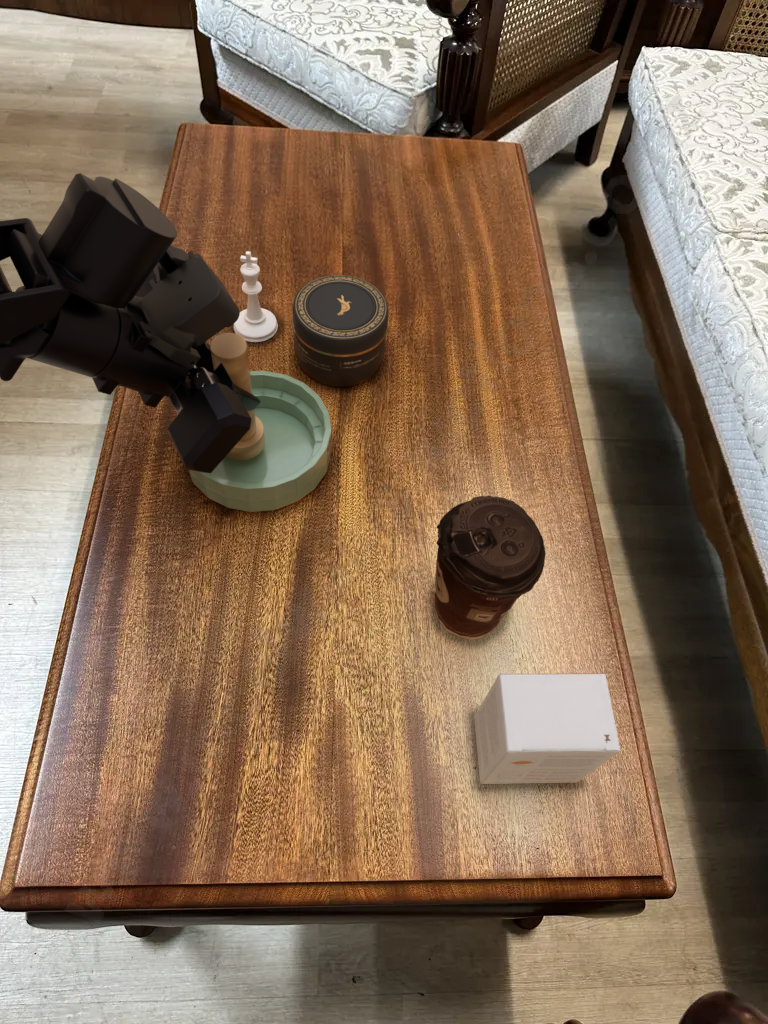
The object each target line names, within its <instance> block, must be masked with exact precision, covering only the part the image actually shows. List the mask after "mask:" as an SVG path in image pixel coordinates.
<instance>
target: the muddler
mask: <svg viewBox="0 0 768 1024" xmlns="http://www.w3.org/2000/svg"><path fill="white" fill-rule="evenodd" d="M209 345H210V350H211V356H212V362H213V367H214V371H215V369H216V368H217V367H218V366H219V364H220V363H222V364H223V365H224V367H225V369H226V371H227V372H228V374H229V376H230V378H231V379H232V381H233V383H234V385H236V386H238V387H240V388H242V389H243V390H245V391H247V392H249V393H251V394H252V385H251V376H250V371H251V370H250V369H251V368H250V361H249V360H250V359H249V351H248V342H247V341H246V340H245V339H244V338H243V337H242V336H240V335H238V334H236V333H235V332H223V333H220V334H218V335H215V336H214V337H213V338H212V340H211V341H210V343H209ZM252 395H253V394H252ZM248 413H249V415H250V417H251V426H250V430H249V431H248V432H247V433H246V434H245V435H244V436H243V438H242V439H241V440H240V441H239V442H238V443H237V444H236V445H235V447H234V448H233V449H232V450H231V451H230V452H229V453H228V455H227V457H229V458H232V459H235V460H248V459H251V458H253V457H255V456H257V455H258V454H259V453H260V452H261V451H262V450H263V448H264V445H265V436H264V427H263V424H262V422H261V420H260V419H259V418H258V417H256V416H255V412H254V410H251V411H248Z"/></svg>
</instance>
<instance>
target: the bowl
mask: <svg viewBox="0 0 768 1024" xmlns="http://www.w3.org/2000/svg"><path fill="white" fill-rule="evenodd" d="M250 376H251V385H252V394H253V395H254V396H256V397H257V398H259V400H260V404H259V405H258V406H257V407H256V408H255V409H254V412H255V416H256V417H258V418H259V419H260V420H261V422H262V424H263V427H264V436H265V445H264V448H263V450H262V451H261V452H260V453H259V454H258V455H257V456H255V457H253V458H251V459H248V460H235V459H232V458H229V457H227V456H226V457H225V458H224V459H223V460H222V461H221V462H220V464H219V465H218V466H217V467H216V468H215V469H214V470H213V472H212V473H202V472H198V471H193V470H188V469H186V470H187V473H188V475H189V477H190V479H191V481H192V483H193V485H194V486H196V488H197V489H198V490H199V491H201V493H202V494H203V495H205V496H206V498H207V499H210V500H212V501H213V502H216V503H218V504H220V505H222V506H224V507H225V508H228V509H233V510H238V511H244V512H249V513H255V512H266V511H275V510H278V509H281V508H284V507H287V506H289V505H293V504H295V503H297V502H299V501H300V500H302V499H303V498H304V497H306V496H307V495H309V494H310V493H311V492H313V491H314V490H315V489H316V487H317V486H318V485H319V484H320V482H321V481H322V479H323V478H324V476H325V475H326V474H327V471H328V469H329V465H330V460H331V457H332V424H331V417H330V413H329V410H328V408H327V406H326V405H325V403H324V402H323V399H322V398H321V396H320V395H319V394H318V393H316V392H315V391H314V390H313V388H311V387H310V386H308V385H307V384H306V383H304V382H303V381H301V380H298V379H296V378H294V377H292V376H290V375H288V374H284V373H278V372H274V371H268V370H250Z"/></svg>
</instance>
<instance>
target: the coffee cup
mask: <svg viewBox="0 0 768 1024" xmlns="http://www.w3.org/2000/svg"><path fill="white" fill-rule="evenodd" d="M436 529H437V540H436V545H437V546H438V547H437V554H436V564H435V568H436V569H435V578H434V589H435V591H434V594H433V595H434V599H433V600H434V601H433V603H434V604H433V605H434V610H435V614H436V617H437V620H438V621H439V623H441V625H442V626H443V628H444V630H445V631H446V632H447V633H449V634H451V635H455V636H457V637H459V638H460V639H468V640H478V639H482V638H484V637H486V636H487V635H489V634H490V633H491V632H493V631H494V629H496V628H497V627H498V625H499V624H500V622H501V621H502V620H503V619H504V617H506V615H507V614H508V612H509V611H510V610H511V609H512V608H513V606H514V604H515V603H516V602H517V600H518V599H519V598H521V596H523V595H526V594H527V593H529V592H530V591H531V590H533V588H534V587H535V585H536V584H537V583H538V582H539V580H540V578H541V576H542V574H543V572H544V568H545V561H546V547H545V541H544V538H543V535H542V534H541V531H540V529H539V528H538V526H537V525H536V523H535V521H534V520H533V518H532V517H531V516H530V515H529V514H528V513H527V512H526V510H525V509H524V508H523V507H522V506H520V505H519V504H518V503H516V502H515V501H514V500H511V499H508V498H506V497H502V496H494V495H493V496H492V495H480V496H479V495H478V496H474V497H472V498H471V500H467V501H465V502H464V501H463V502H461V503H458V504H457V505H455V506H453V507H452V508H450V510H448V511H447V512H446V513H445V514H444V515H443V517H442V518H441V519H440V520H439V524H437V526H436Z"/></svg>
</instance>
